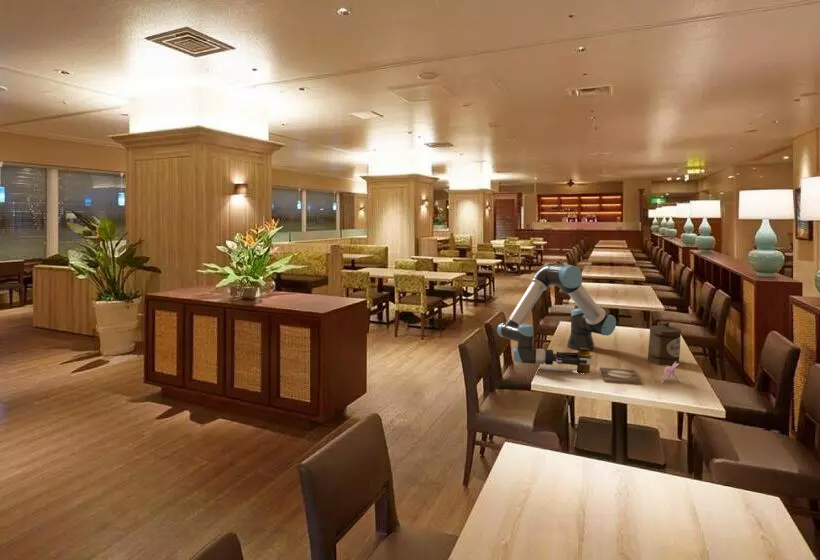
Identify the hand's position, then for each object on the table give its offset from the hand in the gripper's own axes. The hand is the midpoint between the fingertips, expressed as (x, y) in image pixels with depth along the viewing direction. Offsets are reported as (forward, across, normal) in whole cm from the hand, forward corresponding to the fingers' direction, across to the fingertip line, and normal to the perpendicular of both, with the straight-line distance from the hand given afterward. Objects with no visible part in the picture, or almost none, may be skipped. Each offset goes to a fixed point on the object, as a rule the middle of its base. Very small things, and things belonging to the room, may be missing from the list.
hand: (592, 359), depth 255 cm
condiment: (-5, 0, -7) cm, 8 cm away
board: (+12, +4, -6) cm, 14 cm away
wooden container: (+38, -28, -7) cm, 48 cm away
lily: (+33, +6, -7) cm, 35 cm away
